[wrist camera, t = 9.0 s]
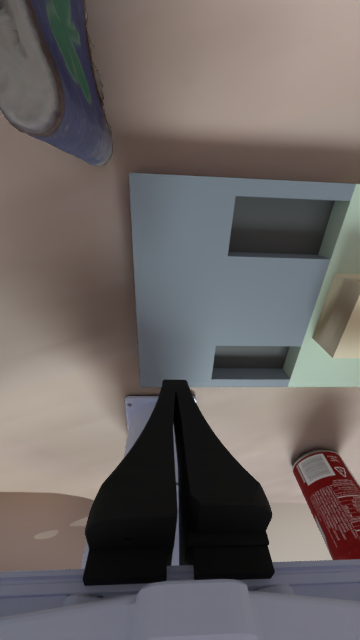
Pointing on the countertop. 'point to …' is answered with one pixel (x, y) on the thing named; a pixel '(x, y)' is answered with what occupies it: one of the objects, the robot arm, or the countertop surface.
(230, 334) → the trap deck
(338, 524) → the soda can
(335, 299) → the birch block
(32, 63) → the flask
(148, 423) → the robot arm
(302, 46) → the countertop surface
